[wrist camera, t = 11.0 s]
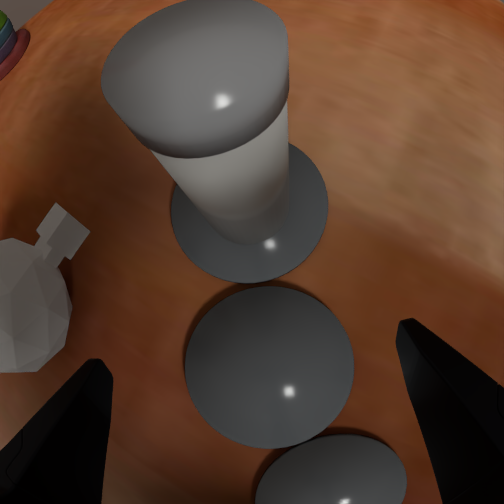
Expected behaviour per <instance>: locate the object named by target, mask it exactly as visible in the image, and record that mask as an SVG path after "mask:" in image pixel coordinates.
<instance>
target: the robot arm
mask: <svg viewBox="0 0 504 504" xmlns="http://www.w3.org/2000/svg"><path fill="white" fill-rule="evenodd" d="M396 348H397V352H398V355H399V359H400V363H401V367H402V371H403V375H404V379H405V383H406V387H407V391H408V394H409V397H410V400H411V403H412V405H413V408H414V411H415V414H416V417H417V420H418V423H419V426H420V429H421V432H422V435H423V438H424V441H425V444H426V447H427V450H428V454H429V457H430V460H431V463H432V467H433V470H434V474H435V477H436V481H437V484H438V488H439V491H440V495H441V499H442V503H443V504H504V388H503V387H502V386H501V385H500V384H498V383H497V382H496V381H495V380H493V379H492V378H491V377H490V376H488V375H487V374H486V373H485V372H483V371H482V370H481V369H480V368H478V367H477V366H476V365H475V364H473V363H472V362H471V361H469V360H468V359H467V358H466V357H464V356H463V355H462V354H460V353H459V352H458V351H457V350H455V349H454V348H453V347H451V346H450V345H449V344H447V343H446V342H445V341H444V340H442V339H441V338H440V337H438V336H437V335H436V334H434V333H433V332H432V331H430V330H429V329H428V328H426V327H425V326H424V325H422V324H421V323H420V322H418V321H417V320H416V319H414V318H409V319H404V320H401V321H400V322H399V325H398V331H397V336H396ZM112 392H113V376H112V374H111V372H110V371H109V369H108V368H107V367H106V365H105V364H104V362H103V361H102V360H101V359H98V358H96V359H88V360H87V361H86V362H85V363H84V364H83V365H82V366H81V367H80V368H79V369H78V370H77V371H76V372H75V373H74V374H73V375H72V376H71V377H70V378H69V379H68V380H67V381H66V382H65V383H64V385H63V386H62V387H61V388H60V389H59V390H58V391H57V392H56V393H55V394H54V395H53V396H52V397H51V398H50V399H49V400H48V401H47V402H46V403H45V404H44V405H43V406H42V408H41V409H40V410H39V411H38V412H37V413H36V414H35V415H34V416H33V417H32V418H31V419H30V420H29V421H28V422H27V424H26V425H25V426H24V427H23V429H21V430H20V431H19V432H18V433H17V434H16V435H15V436H14V438H13V439H12V440H11V441H10V442H9V443H8V444H7V445H6V446H5V447H4V448H3V449H2V450H1V451H0V504H101V501H102V489H103V478H104V469H105V460H106V452H107V445H108V437H109V430H110V423H111V409H112Z"/></svg>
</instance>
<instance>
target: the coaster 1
mask: <svg viewBox="0 0 504 504" xmlns="http://www.w3.org/2000/svg"><path fill="white" fill-rule="evenodd" d="M288 149H289V212H288V215H287V218H286V220H285V222H284V224H283V226H282V227H281V228H280V229H279V231H278V232H276V233H275V234H274V235H273V236H272V237H270V238H268V239H267V240H265V241H262V242H259V243H255V244H248V245H246V244H237V243H233V242H230V241H228V240H226V239H224V238H223V237H221V236H220V235H219V234H218V233H217V232H216V231H215V230H214V229H213V228H212V226H211V225H210V224H209V223H208V221H207V220H206V219H205V218H204V216H203V215H202V214H201V213H200V212H199V210H198V209H197V208H196V207H195V205H194V204H193V203H192V202H191V200H190V199H189V198H188V197H187V195H186V194H185V193H184V192H183V190H182V189H181V188H180V187H179V185H178V184H177V185H176V187H175V191H174V194H173V198H172V204H171V218H172V225H173V230H174V233H175V236H176V238H177V241H178V243H179V245H180V246H181V248H182V250H183V251H184V253H185V254H186V255H187V256H188V258H189V259H190V260H191V261H192V262H193V263H194V264H195V265H197V266H198V267H199V268H201V269H202V270H204V271H205V272H207V273H209V274H211V275H212V276H214V277H217V278H219V279H222V280H225V281H229V282H234V283H244V284H250V283H260V282H266V281H270V280H273V279H276V278H278V277H281V276H283V275H285V274H287V273H289V272H290V271H292V270H293V269H295V268H296V267H298V266H299V265H300V264H301V263H302V262H303V261H304V260H305V259H306V258H307V257H308V256H309V255H310V254H311V253H312V251H313V250H314V248H315V247H316V245H317V244H318V242H319V240H320V238H321V236H322V234H323V231H324V227H325V224H326V220H327V214H328V197H327V191H326V187H325V183H324V181H323V178H322V176H321V174H320V172H319V171H318V169H317V167H316V166H315V164H314V163H313V162H312V161H311V160H310V158H309V157H308V156H307V155H305V154H304V153H303V152H302V151H301V150H299V149H298V148H297V147H295V146H293V145H292V144H290V143H288Z"/></svg>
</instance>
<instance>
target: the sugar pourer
mask: <svg viewBox="0 0 504 504" xmlns="http://www.w3.org/2000/svg"><path fill="white" fill-rule="evenodd" d="M101 88H102V92H103V95H104V97H105V99H106V100H107V102H108V103H109V104H110V106H111V107H112V108H113V109H114V111H115V112H116V113H117V114H118V116H119V117H120V118H121V119H122V121H123V122H124V123H125V124H126V126H127V127H128V128H129V129H130V130H131V132H132V133H133V134H134V135H135V137H136V138H137V139H138V140H139V141H140V142H141V143H142V144H143V145H144V146H146V147H147V148H148V149H150V150H151V152H152V153H153V154H154V155H155V157H156V158H157V159H158V160H159V162H160V163H161V164H162V165H163V167H164V168H165V169H166V170H167V172H168V173H169V174H170V175H171V177H172V178H173V179H174V180H175V182H176V183H177V184H178V185H179V187H180V188H181V189H182V190H183V192H184V193H185V194H186V195H187V197H188V198H189V199H190V200H191V202H192V203H193V204H194V205H195V207H196V208H197V209H198V210H199V212H200V213H201V214H202V215H203V216H204V218H205V219H206V220H207V221H208V223H209V224H210V225H211V226H212V228H213V229H214V230H215V231H216V232H217V233H218V234H219V235H220V236H221V237H223V238H224V239H226V240H228V241H230V242H233V243H237V244H246V245H248V244H255V243H259V242H262V241H265V240H267V239H268V238H270V237H272V236H273V235H274V234H275V233H276V232H278V231H279V229H280V228H281V227H282V226H283V224H284V222H285V220H286V218H287V215H288V212H289V149H288V115H287V98H288V93H289V58H288V35H287V31H286V27H285V25H284V23H283V21H282V20H281V19H280V17H279V16H278V15H277V14H276V13H275V12H274V11H272V10H271V9H269V8H268V7H266V6H265V5H263V4H260V3H258V2H256V1H252V0H186V1H183V2H180V3H176V4H174V5H171V6H168V7H166V8H164V9H162V10H159V11H157V12H155V13H154V14H152V15H150V16H148V17H147V18H145V19H144V20H142V21H141V22H139V23H138V24H137V25H135V26H134V27H133V28H131V29H130V30H129V31H128V32H127V33H126V34H125V35H124V36H123V37H122V38H121V39H120V40H119V41H118V42H117V44H116V45H115V46H114V48H113V49H112V50H111V52H110V54H109V55H108V57H107V59H106V62H105V64H104V67H103V70H102V75H101Z"/></svg>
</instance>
